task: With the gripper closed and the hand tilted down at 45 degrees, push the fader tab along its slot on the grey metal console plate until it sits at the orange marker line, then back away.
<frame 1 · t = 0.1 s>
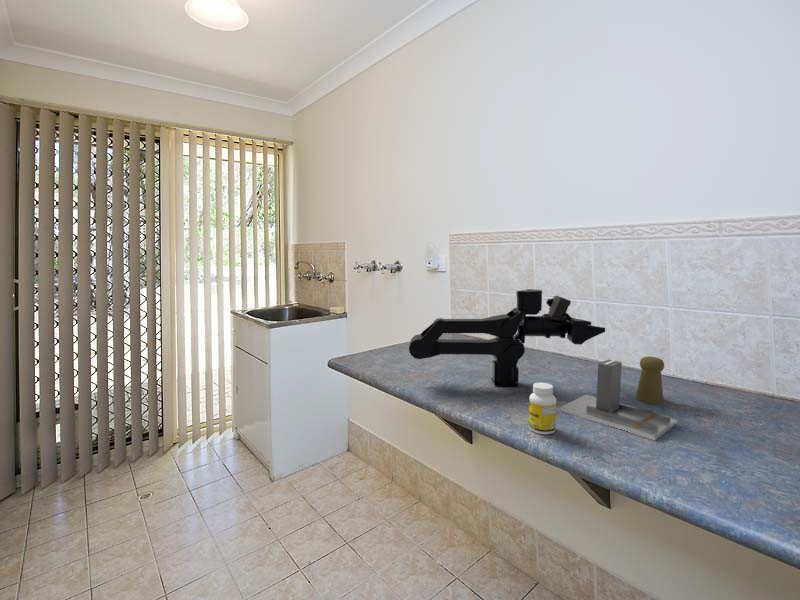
hand: (597, 326, 112), 17 cm above the countertop, tool horizontal, fingers open, 9 cm apart
cork: (649, 400, 102), on the countertop
console plate: (616, 416, 92), on the countertop
fader tab: (608, 385, 93), point 7 cm above the countertop, slide at 0.0 cm
supplement bottle: (541, 430, 86), on the countertop
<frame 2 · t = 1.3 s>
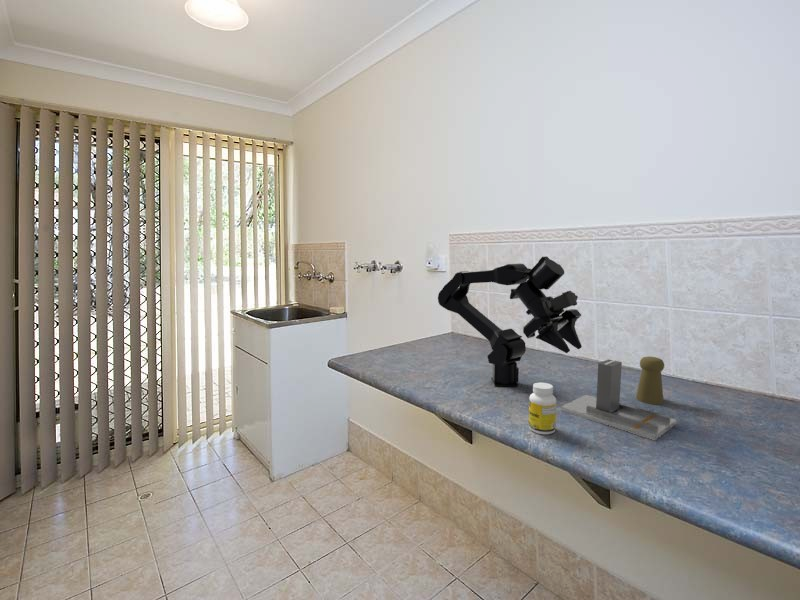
hand: (574, 350, 98), 14 cm above the countertop, tool tilted 45°, fingers open, 5 cm apart
nothing on the countertop moved.
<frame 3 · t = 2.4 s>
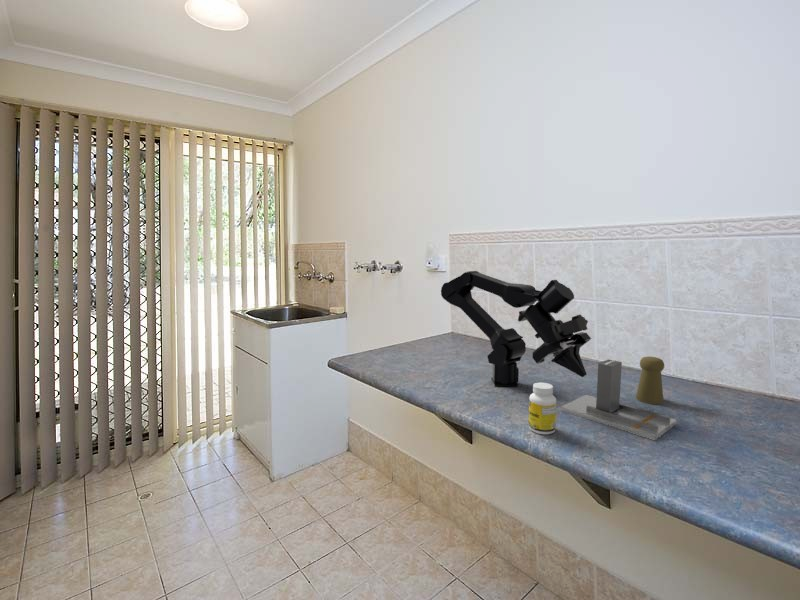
hand: (584, 375, 97), 8 cm above the countertop, tool tilted 45°, fingers closed
nothing on the countertop moved.
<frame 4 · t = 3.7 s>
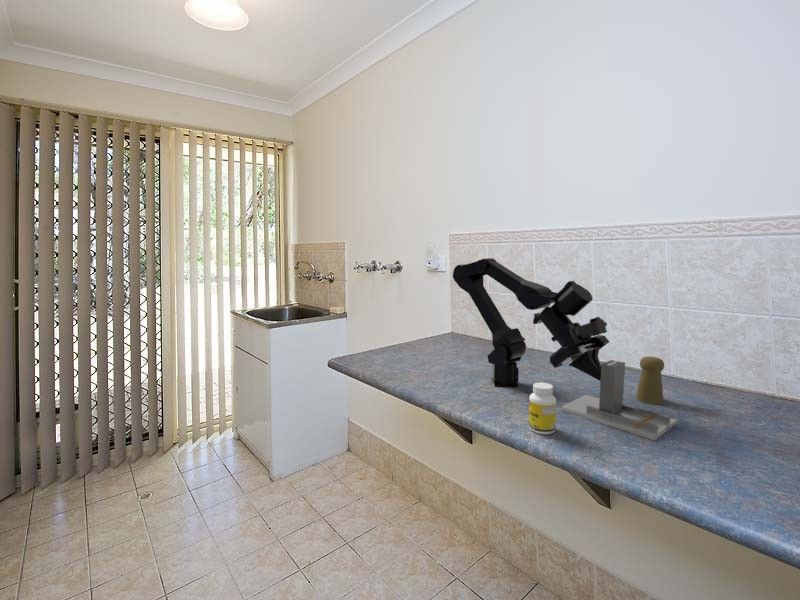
hand: (604, 380, 93), 8 cm above the countertop, tool tilted 45°, fingers closed, pressing on fader tab
fader tab: (612, 386, 92), point 7 cm above the countertop, slide at 0.7 cm, touching gripper
everything else where it was.
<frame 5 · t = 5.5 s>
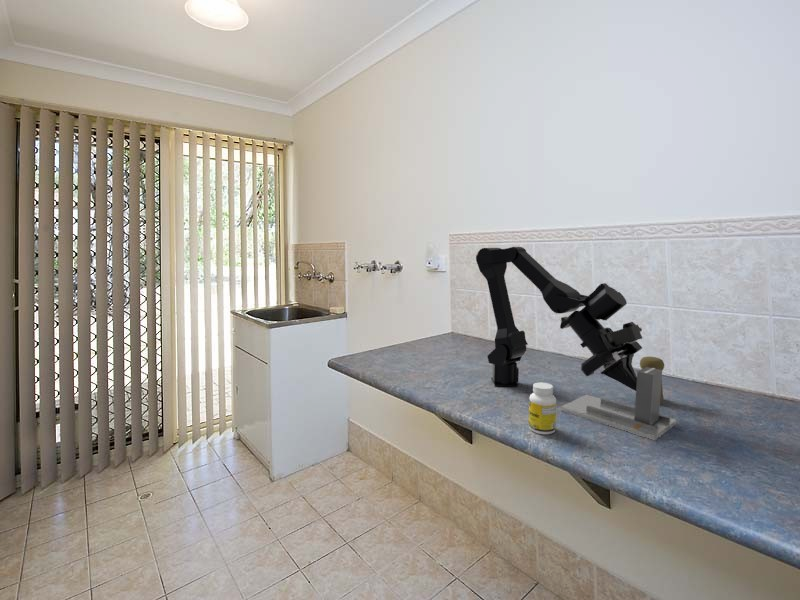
hand: (639, 389, 88), 8 cm above the countertop, tool tilted 45°, fingers closed, pressing on fader tab
fader tab: (648, 395, 86), point 7 cm above the countertop, slide at 8.2 cm, touching gripper
everything else where it was.
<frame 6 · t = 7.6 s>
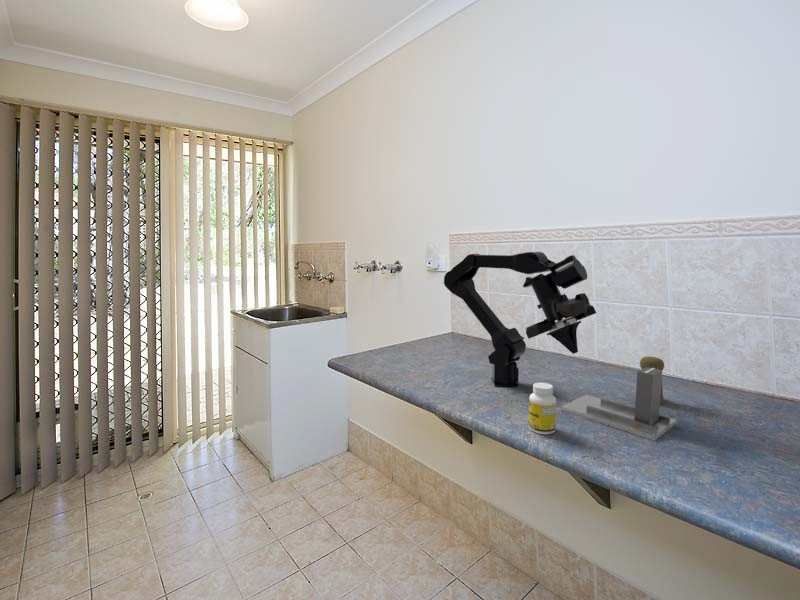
hand: (575, 353, 101), 12 cm above the countertop, tool tilted 30°, fingers closed
fader tab: (648, 395, 86), point 7 cm above the countertop, slide at 8.2 cm
everything else where it was.
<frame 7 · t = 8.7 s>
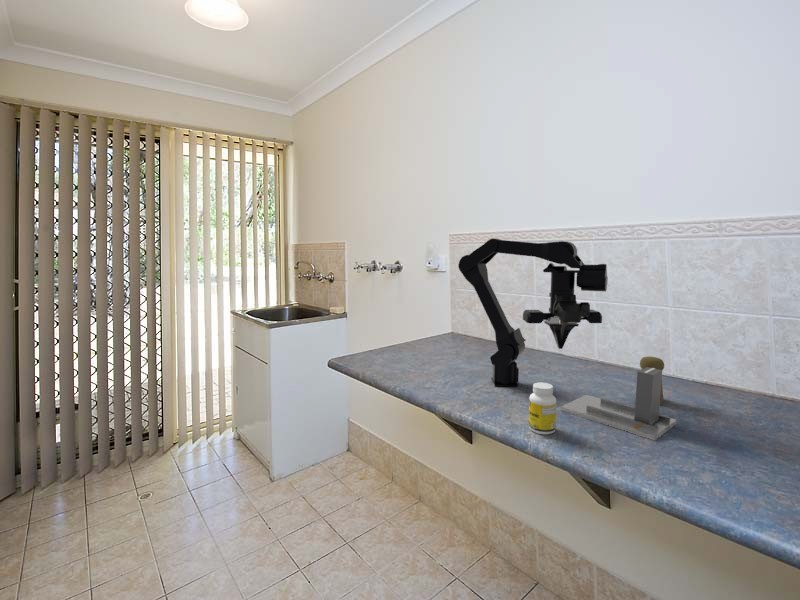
hand: (560, 348, 107), 12 cm above the countertop, tool pointing down, fingers closed
nothing on the countertop moved.
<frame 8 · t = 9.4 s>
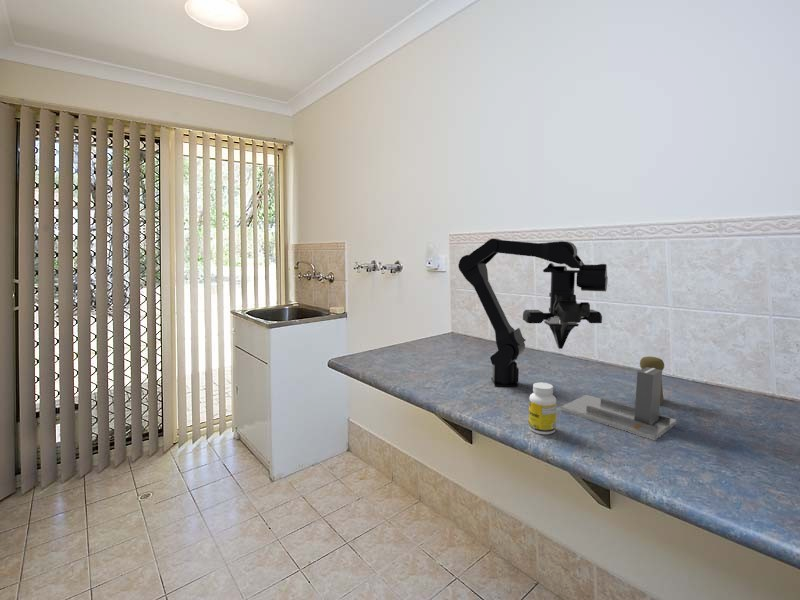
hand: (560, 348, 107), 12 cm above the countertop, tool pointing down, fingers closed
nothing on the countertop moved.
at the end: fader tab slide at 8.2 cm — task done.
